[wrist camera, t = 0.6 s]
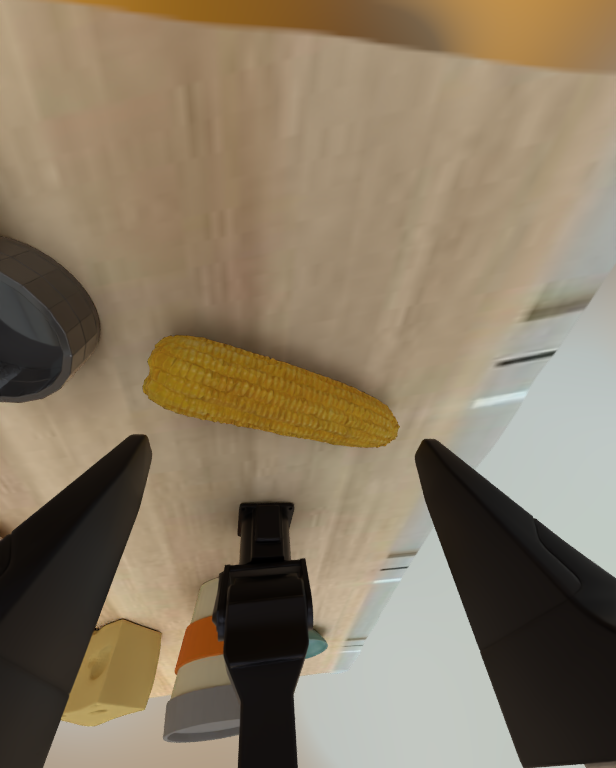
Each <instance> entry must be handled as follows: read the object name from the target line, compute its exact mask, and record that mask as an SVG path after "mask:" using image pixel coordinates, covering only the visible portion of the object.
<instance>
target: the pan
mask: <svg viewBox="0 0 616 768" xmlns="http://www.w3.org/2000/svg"><path fill="white" fill-rule="evenodd" d="M99 337H100V323H99V318H98V314H97V311H96V309H95V307H94V304H93V302H92V300H91V299H90V297H89V295H88V294H87V292H86V291H85V290H84V288H83V287H82V286H81V284H80V283H79V282H78V281H77V280H76V279H75V278H74V277H73V276H72V275H71V274H70V273H69V272H68V271H67V270H66V269H65V268H64V267H62V266H61V265H60V264H59V263H57V262H56V261H55V260H53V259H52V258H50V257H49V256H47V255H45V254H44V253H42V252H41V251H39V250H37V249H35V248H33V247H31V246H29V245H26V244H24V243H21V242H19V241H17V240H13V239H10V238H7V237H3V236H0V402H12V403H22V402H28V401H33V400H38V399H43V398H45V397H47V396H49V395H51V394H52V393H54V392H56V391H58V390H59V389H61V388H62V387H63V386H64V385H65V383H66V382H67V381H68V380H69V379H70V378H71V377H72V376H73V375H74V374H75V373H76V372H77V371H78V370H79V369H80V367H81V366H82V365H83V364H84V363H85V362H86V361H87V359H88V358H89V357H90V356H91V355H92V353H93V352H94V350H95V349H96V347H97V344H98V342H99Z"/></svg>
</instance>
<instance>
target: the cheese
mask: <svg viewBox="0 0 616 768" xmlns="http://www.w3.org/2000/svg"><path fill="white" fill-rule="evenodd" d="M161 635H162V634H161V633H159V632H157V631H154V630H151V629H148V628H145V627H142V626H139V625H137V624H134V623H131V622H129V621H126V620H119V621H116V622H113V623H111V624H108V625H106V626H103V627H102V628H101V629H100V630H99V631H96V630H94V632H93V634H92V637H91V640H90V642H89V645H88V648H87V650H86V653H85V656H84V658H83V661H82V664H81V666H80V669H79V672H78V674H77V677H76V680H75V682H74V685H73V688H72V690H71V693H70V694H69V695H70V696H69V699H68V702H67V704H66V707H65V710H64V712H63V715H62V718H61V720H62V721H66V722H70V723H74V724H78V725H82V726H97V725H99V724H102V723H105V722H107V721H109V720H112V719H115V718H117V717H121V716H124V715H127V714H130V713H134V712H138V711H142V710H145V708H146V705H147V702H148V699H149V696H150V693H151V690H152V686H153V683H154V678H155V674H156V669H157V664H158V659H159V654H160V646H161Z"/></svg>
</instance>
